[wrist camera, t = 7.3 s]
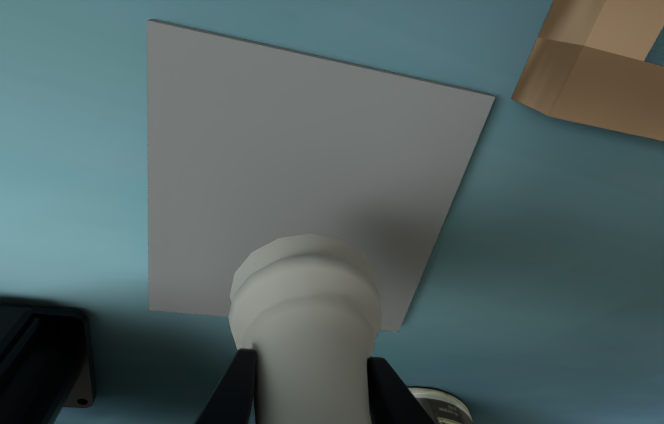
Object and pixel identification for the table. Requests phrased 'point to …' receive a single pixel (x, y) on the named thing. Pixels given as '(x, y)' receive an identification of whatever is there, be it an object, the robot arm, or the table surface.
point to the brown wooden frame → (598, 66)
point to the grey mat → (293, 163)
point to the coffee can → (442, 406)
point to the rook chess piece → (307, 329)
